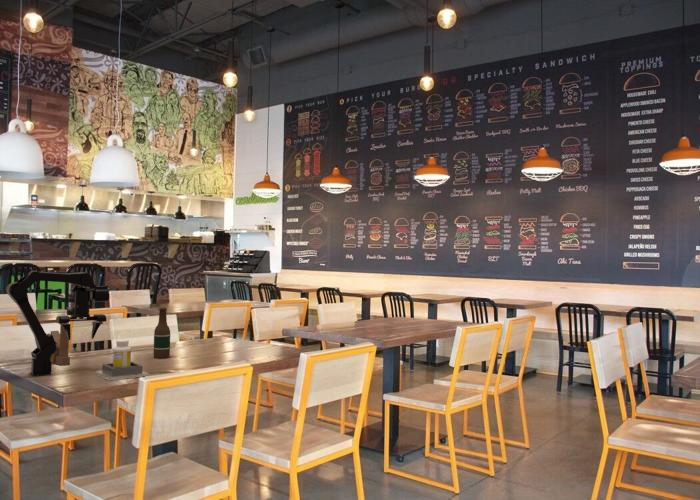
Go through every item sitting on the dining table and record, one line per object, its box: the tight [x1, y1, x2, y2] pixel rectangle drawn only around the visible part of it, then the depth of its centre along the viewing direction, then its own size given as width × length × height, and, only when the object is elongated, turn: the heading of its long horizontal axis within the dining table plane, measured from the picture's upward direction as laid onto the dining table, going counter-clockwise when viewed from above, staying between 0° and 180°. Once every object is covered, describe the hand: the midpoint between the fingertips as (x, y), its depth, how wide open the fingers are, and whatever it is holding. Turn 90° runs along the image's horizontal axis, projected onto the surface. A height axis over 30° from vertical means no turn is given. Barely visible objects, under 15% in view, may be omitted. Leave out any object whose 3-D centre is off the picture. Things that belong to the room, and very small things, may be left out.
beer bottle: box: [152, 306, 171, 360], centre depth 286 cm, size 8×8×24 cm
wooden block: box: [50, 324, 71, 366], centre depth 262 cm, size 4×11×18 cm, turn 55°
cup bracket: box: [95, 361, 150, 382], centre depth 241 cm, size 16×16×4 cm
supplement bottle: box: [112, 339, 132, 368], centre depth 241 cm, size 7×7×13 cm
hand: (81, 339), depth 249 cm, fingers open, 9 cm apart
